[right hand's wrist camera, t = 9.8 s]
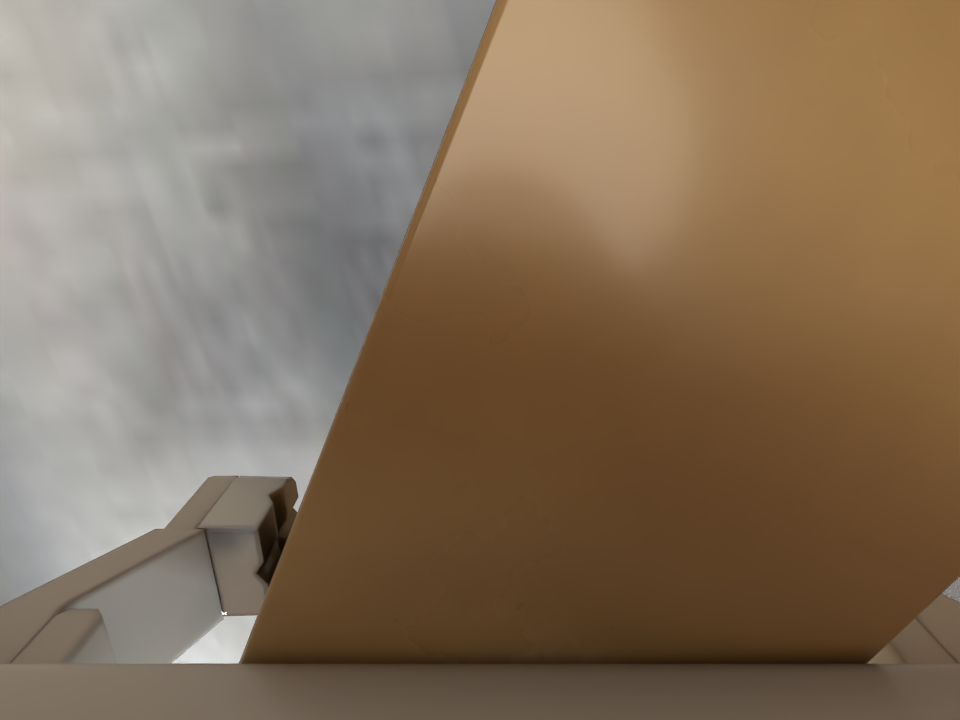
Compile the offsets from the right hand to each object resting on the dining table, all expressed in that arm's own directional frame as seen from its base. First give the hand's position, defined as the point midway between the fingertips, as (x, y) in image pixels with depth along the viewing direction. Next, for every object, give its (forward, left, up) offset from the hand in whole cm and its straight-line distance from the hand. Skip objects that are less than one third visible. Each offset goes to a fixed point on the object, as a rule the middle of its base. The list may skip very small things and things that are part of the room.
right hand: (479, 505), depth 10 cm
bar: (+6, +6, -4) cm, 9 cm away
